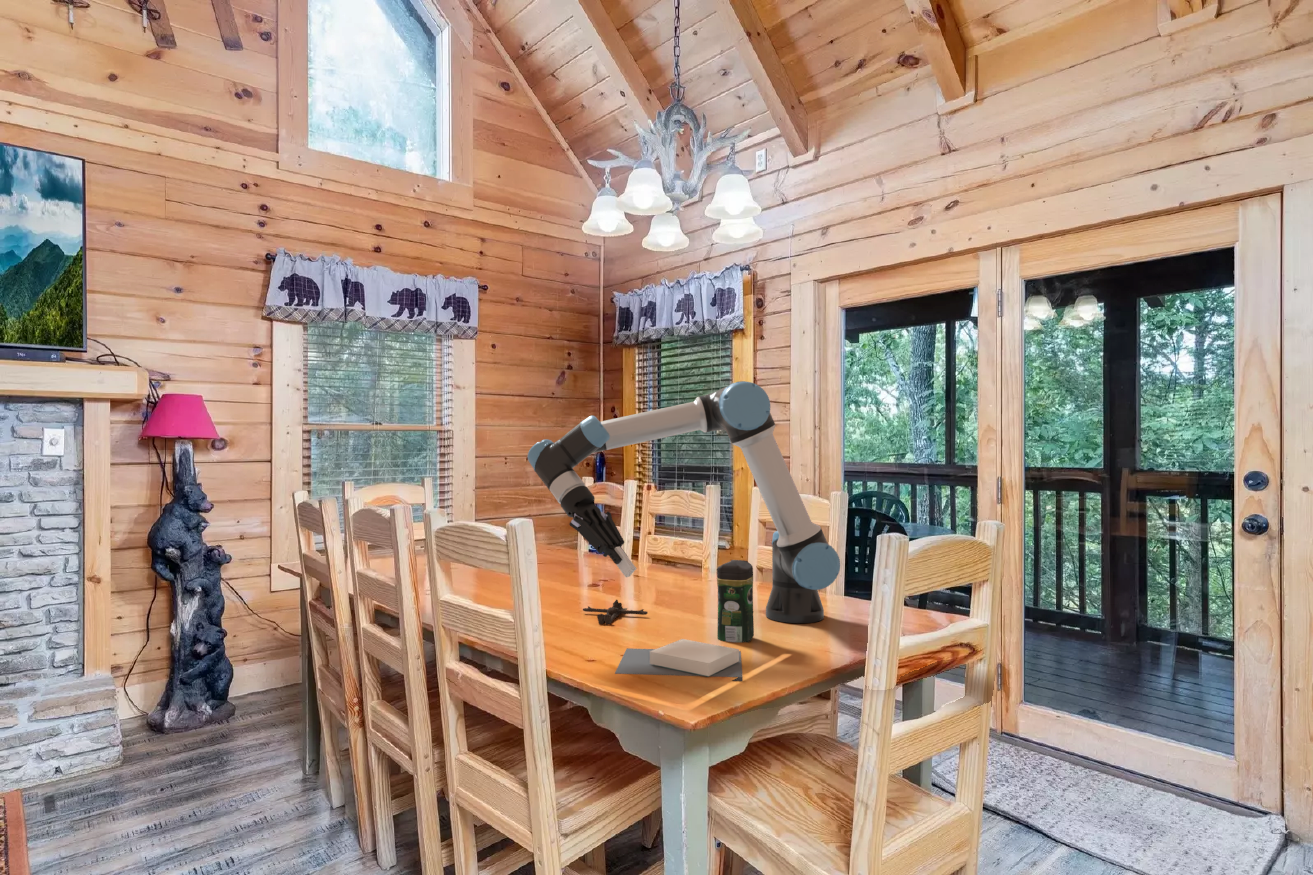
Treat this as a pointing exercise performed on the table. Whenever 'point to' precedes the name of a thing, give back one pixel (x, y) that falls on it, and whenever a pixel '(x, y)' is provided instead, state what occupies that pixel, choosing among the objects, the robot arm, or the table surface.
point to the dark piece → (613, 612)
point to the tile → (694, 657)
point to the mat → (640, 664)
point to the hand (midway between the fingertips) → (631, 572)
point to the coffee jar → (735, 601)
